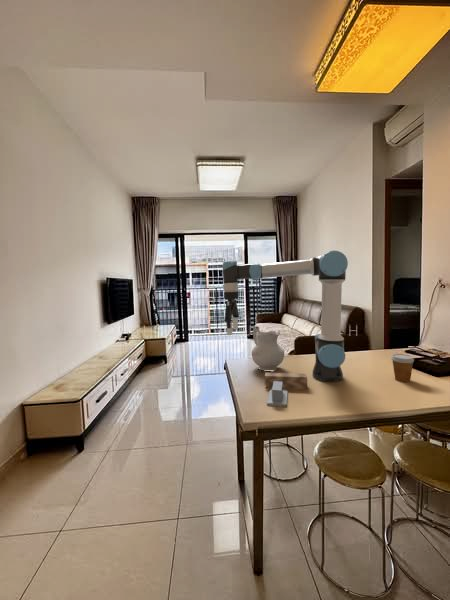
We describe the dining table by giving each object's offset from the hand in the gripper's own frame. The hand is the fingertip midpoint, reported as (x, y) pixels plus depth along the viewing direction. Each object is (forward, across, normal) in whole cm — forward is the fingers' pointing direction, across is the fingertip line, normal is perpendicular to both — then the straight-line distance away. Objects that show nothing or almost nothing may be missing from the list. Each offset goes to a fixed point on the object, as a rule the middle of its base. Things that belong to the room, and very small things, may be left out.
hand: (232, 331), depth 139 cm
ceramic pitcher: (+27, -24, +14) cm, 38 cm away
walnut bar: (+27, +2, +26) cm, 38 cm away
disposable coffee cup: (+27, -14, +82) cm, 88 cm away
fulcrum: (+26, +17, +23) cm, 39 cm away
